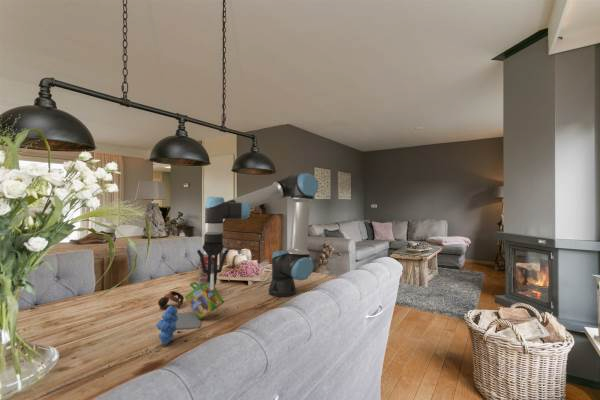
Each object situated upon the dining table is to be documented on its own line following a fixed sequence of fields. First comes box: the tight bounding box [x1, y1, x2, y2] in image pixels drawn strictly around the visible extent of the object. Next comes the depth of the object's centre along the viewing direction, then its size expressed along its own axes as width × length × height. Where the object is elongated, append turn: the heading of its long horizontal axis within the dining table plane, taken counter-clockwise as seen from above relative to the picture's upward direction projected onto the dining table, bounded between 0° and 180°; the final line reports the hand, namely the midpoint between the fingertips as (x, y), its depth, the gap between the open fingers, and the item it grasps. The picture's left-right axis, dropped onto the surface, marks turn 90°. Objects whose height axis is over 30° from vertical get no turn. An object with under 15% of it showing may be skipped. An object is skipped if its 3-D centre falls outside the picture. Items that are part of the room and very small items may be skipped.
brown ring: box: [157, 290, 185, 310], centre depth 135 cm, size 12×10×8 cm
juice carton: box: [197, 253, 216, 287], centre depth 154 cm, size 7×7×22 cm
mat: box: [159, 311, 203, 332], centre depth 120 cm, size 14×17×1 cm
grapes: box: [155, 305, 179, 346], centre depth 102 cm, size 12×7×12 cm, turn 3°
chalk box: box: [184, 281, 225, 320], centre depth 124 cm, size 9×9×15 cm
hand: (211, 289), depth 122 cm, fingers closed
